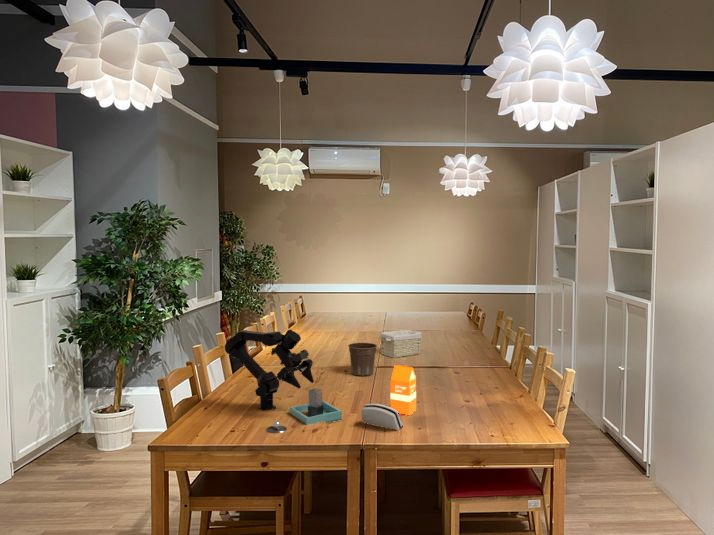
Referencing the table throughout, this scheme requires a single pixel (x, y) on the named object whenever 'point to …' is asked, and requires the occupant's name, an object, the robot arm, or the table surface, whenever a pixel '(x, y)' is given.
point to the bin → (328, 415)
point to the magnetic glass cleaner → (381, 416)
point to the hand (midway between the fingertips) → (306, 385)
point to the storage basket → (400, 343)
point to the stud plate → (272, 430)
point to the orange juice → (403, 390)
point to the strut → (315, 402)
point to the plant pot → (362, 358)
